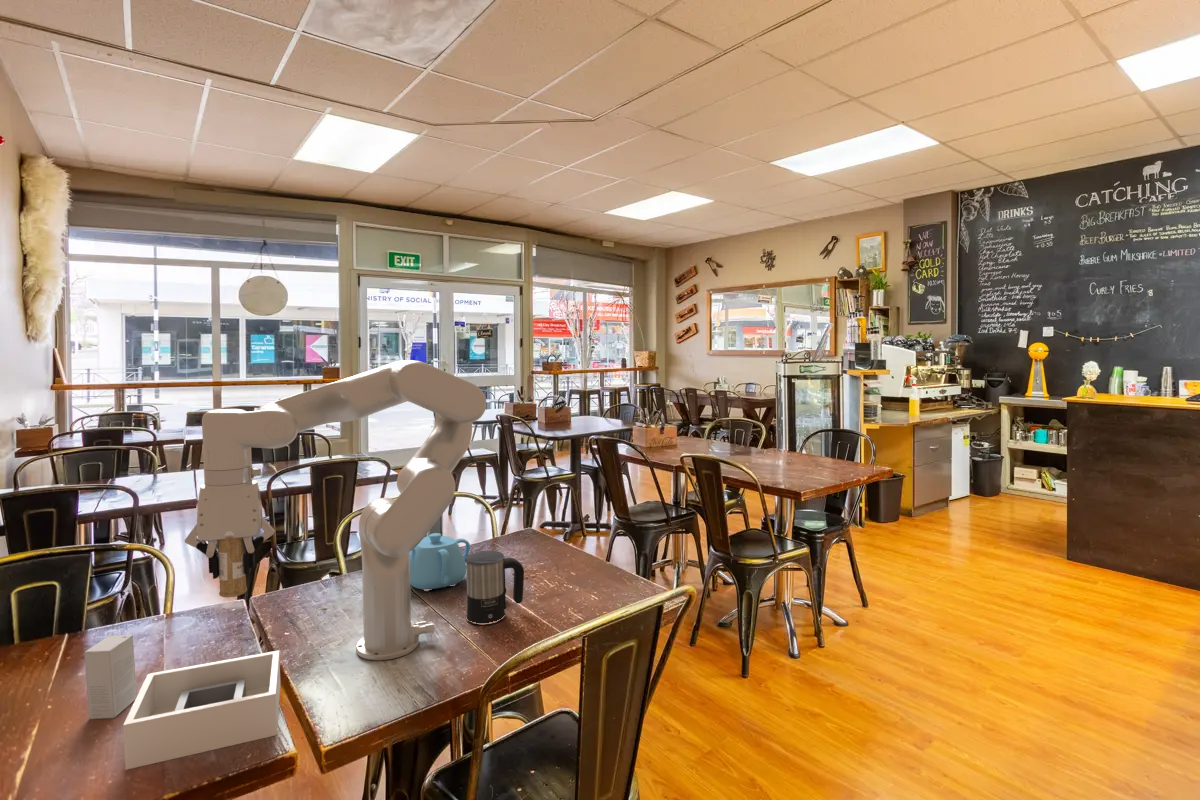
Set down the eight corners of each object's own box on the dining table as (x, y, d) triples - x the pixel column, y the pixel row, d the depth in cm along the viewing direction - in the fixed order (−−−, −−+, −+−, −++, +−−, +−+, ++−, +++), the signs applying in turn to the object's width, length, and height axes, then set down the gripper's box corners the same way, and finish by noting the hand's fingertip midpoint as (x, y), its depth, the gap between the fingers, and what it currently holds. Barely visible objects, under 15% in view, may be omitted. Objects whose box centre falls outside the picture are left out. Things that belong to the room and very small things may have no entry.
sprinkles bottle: (247, 595, 114) (245, 523, 113) (218, 600, 111) (215, 527, 110) (246, 587, 117) (244, 517, 116) (218, 591, 115) (215, 521, 114)
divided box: (280, 686, 115) (279, 650, 114) (277, 734, 100) (275, 693, 100) (149, 712, 106) (147, 673, 106) (125, 769, 92) (123, 725, 91)
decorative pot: (429, 570, 177) (428, 523, 176) (477, 577, 171) (477, 529, 170) (391, 590, 162) (390, 539, 160) (443, 599, 156) (442, 546, 155)
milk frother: (477, 630, 139) (477, 566, 138) (445, 608, 151) (444, 548, 149) (530, 613, 148) (530, 552, 147) (495, 593, 160) (495, 537, 159)
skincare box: (112, 699, 110) (108, 635, 109) (137, 699, 110) (134, 634, 110) (87, 720, 104) (83, 651, 103) (113, 719, 104) (110, 650, 103)
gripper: (281, 470, 119) (284, 562, 121) (178, 476, 113) (182, 574, 114) (279, 477, 113) (282, 574, 114) (168, 484, 106) (173, 588, 107)
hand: (232, 573), depth 114 cm, fingers closed on sprinkles bottle, 4 cm apart
